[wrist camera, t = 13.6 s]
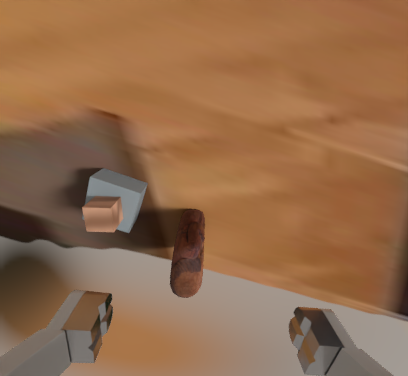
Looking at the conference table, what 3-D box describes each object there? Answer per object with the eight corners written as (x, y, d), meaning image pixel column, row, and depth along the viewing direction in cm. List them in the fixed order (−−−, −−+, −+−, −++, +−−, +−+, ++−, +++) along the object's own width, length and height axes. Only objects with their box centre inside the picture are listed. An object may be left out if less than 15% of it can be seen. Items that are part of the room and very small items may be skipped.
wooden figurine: (201, 248, 53) (201, 313, 37) (176, 246, 53) (165, 310, 36) (207, 208, 49) (210, 261, 32) (180, 205, 49) (170, 257, 32)
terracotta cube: (95, 195, 41) (82, 207, 36) (120, 196, 41) (110, 208, 37) (99, 217, 43) (86, 231, 38) (123, 218, 43) (114, 232, 38)
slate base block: (103, 167, 45) (90, 176, 39) (147, 182, 47) (140, 193, 41) (95, 205, 48) (81, 218, 43) (137, 218, 50) (129, 233, 44)
